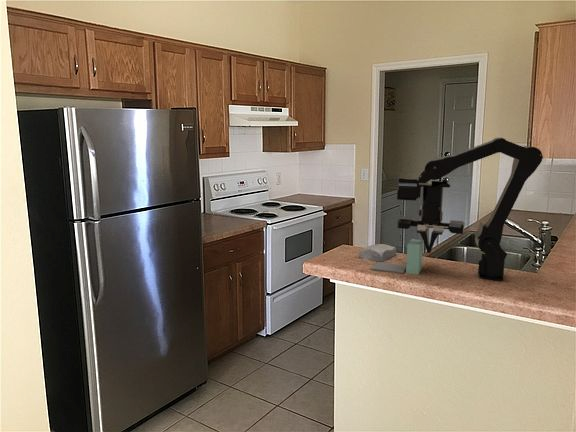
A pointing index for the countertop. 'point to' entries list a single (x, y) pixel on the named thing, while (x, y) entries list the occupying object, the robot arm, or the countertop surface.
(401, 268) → the mat
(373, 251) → the stone block
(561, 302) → the countertop surface
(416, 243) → the slab
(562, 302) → the countertop surface
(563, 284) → the countertop surface
